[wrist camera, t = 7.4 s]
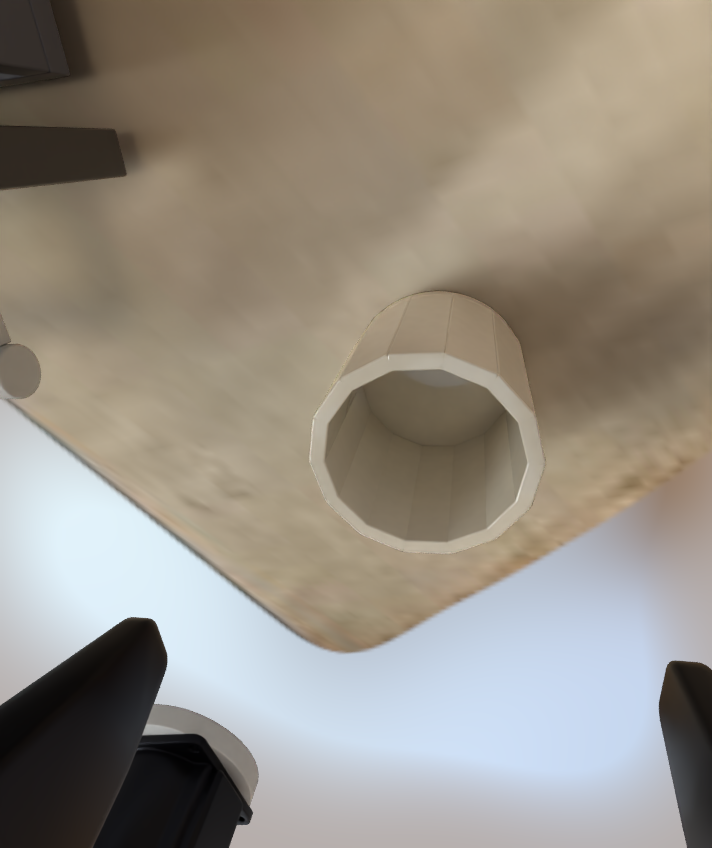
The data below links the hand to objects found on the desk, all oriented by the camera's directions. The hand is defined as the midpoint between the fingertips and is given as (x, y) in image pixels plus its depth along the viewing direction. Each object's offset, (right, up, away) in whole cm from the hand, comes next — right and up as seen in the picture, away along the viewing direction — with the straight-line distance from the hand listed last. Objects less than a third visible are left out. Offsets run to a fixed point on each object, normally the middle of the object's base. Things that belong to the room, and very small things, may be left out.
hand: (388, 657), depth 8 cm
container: (+2, +5, +10) cm, 11 cm away
